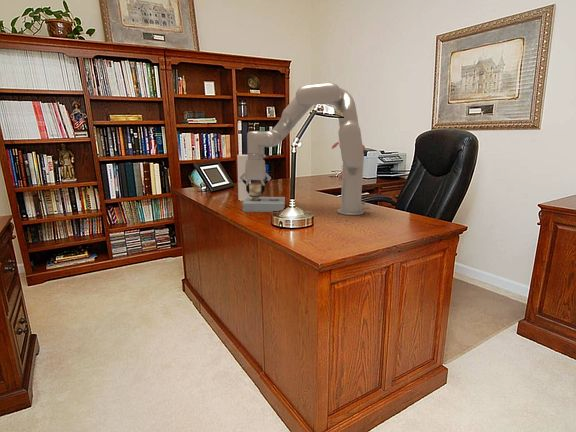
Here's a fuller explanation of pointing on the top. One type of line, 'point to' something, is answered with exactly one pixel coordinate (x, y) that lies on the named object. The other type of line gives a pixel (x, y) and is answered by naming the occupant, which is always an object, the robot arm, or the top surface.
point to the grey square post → (241, 170)
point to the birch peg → (255, 191)
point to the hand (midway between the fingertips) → (255, 192)
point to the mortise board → (264, 204)
